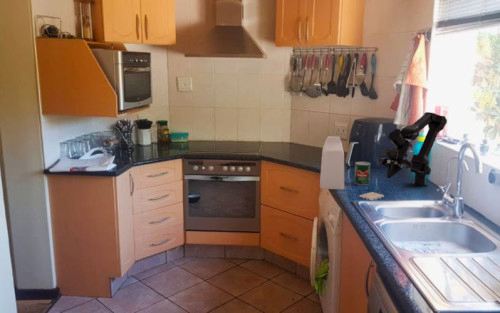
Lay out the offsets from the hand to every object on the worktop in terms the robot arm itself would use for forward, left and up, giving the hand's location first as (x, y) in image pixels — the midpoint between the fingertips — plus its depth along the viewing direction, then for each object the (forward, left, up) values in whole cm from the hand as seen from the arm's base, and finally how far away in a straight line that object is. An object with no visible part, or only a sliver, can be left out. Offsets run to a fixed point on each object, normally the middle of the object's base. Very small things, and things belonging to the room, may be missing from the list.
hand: (387, 178), depth 218 cm
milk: (-9, -26, -8) cm, 29 cm away
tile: (+5, -5, -7) cm, 10 cm away
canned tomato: (-17, -10, -8) cm, 22 cm away
